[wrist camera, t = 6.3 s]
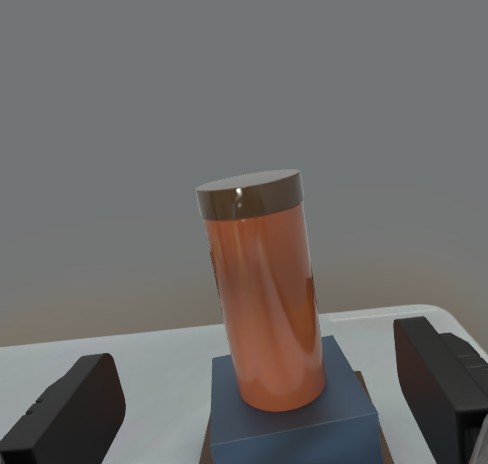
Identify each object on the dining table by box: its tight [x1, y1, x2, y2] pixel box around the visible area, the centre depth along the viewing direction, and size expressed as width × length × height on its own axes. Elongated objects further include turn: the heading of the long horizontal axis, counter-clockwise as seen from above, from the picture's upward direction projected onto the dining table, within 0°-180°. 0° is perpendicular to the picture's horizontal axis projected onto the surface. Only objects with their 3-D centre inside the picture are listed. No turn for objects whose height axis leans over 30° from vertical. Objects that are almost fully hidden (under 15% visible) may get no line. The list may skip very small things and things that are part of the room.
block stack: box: [199, 335, 394, 464], centre depth 22 cm, size 10×9×6 cm
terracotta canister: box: [195, 169, 327, 412], centre depth 20 cm, size 5×5×11 cm
